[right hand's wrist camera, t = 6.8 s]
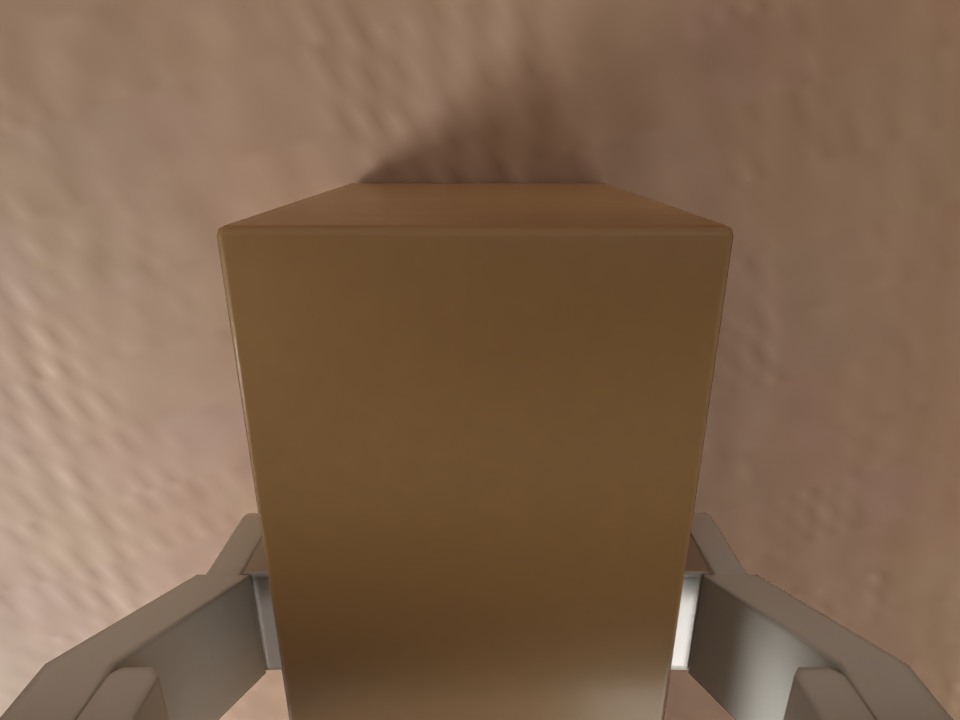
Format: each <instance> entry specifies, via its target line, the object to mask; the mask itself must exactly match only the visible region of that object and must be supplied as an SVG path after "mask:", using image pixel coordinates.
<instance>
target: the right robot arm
mask: <svg viewBox="0 0 960 720" xmlns="http://www.w3.org/2000/svg"><path fill="white" fill-rule="evenodd" d="M277 669H282V666H281V660H280V653H279V646H278V640H277V633H276V626H275V620H274V613H273V606H272V600H271V593H270V586H269V580H268V573H267V566H266V560H265V553H264V546H263V540H262V533H261V526H260V520H259V513H250V514H247V515H245V516H244V517H243V518H242V519H241V521H240V522H239V524H238V526H237V527H236V529H235V530H234V532H233V533H232V535H231V537H230V538H229V540H228V541H227V543H226V544H225V546H224V548H223V549H222V551H221V552H220V554H219V555H218V557H217V559H216V560H215V562H214V563H213V565H212V566H211V568H210V570H209V571H208V573H207V574H206V575H196V576H194V577H193V578H191V579H189V580H188V581H186V582H184V583H182V584H181V585H179V586H177V587H176V588H174V589H172V590H171V591H169V592H167V593H165V594H164V595H162V596H160V597H159V598H157V599H155V600H154V601H152V602H150V603H148V604H147V605H145V606H143V607H142V608H140V609H138V610H136V611H135V612H133V613H131V614H130V615H128V616H126V617H125V618H123V619H121V620H119V621H118V622H116V623H114V624H113V625H111V626H109V627H108V628H106V629H104V630H102V631H101V632H99V633H97V634H96V635H94V636H92V637H91V638H89V639H87V640H85V641H84V642H82V643H80V644H79V645H77V646H75V647H74V648H72V649H70V650H68V651H67V652H65V653H63V654H62V655H60V656H58V657H57V658H55V659H53V660H51V661H50V662H48V663H46V664H45V665H44V666H43V667H42V668H41V670H40V671H39V672H38V673H37V674H36V676H35V677H34V678H33V679H32V680H31V682H30V683H29V684H28V685H27V686H26V688H25V689H24V690H23V691H22V692H21V694H20V695H19V696H18V697H17V698H16V700H15V701H14V702H13V703H12V704H11V705H10V707H9V708H8V709H7V710H6V711H5V713H4V714H3V715H2V716H1V717H0V720H219V719H220V718H221V717H222V716H223V715H224V714H225V713H226V712H227V711H228V710H229V709H230V708H231V707H232V706H233V705H234V704H235V703H236V702H237V701H238V700H239V699H240V698H241V697H242V696H243V695H244V694H245V693H246V692H247V691H248V690H249V689H250V688H251V687H252V686H253V685H254V684H255V683H256V682H257V681H258V680H259V679H260V678H261V677H262V676H263V675H264V674H265V673H266V671H265V670H277ZM671 669H676V670H689V672H688V673H689V674H690V675H691V676H692V677H693V678H694V679H695V680H696V681H697V682H698V683H699V684H700V685H701V686H702V687H703V688H704V689H705V690H706V691H707V692H708V693H709V694H710V695H711V696H712V697H713V698H714V699H715V700H716V701H717V702H718V703H719V704H720V705H721V706H722V707H723V708H724V709H725V710H726V711H727V712H728V713H729V714H730V715H731V716H732V717H733V718H734V719H735V720H953V719H952V718H951V717H950V715H949V714H948V713H947V712H946V710H945V709H944V708H943V707H942V706H941V704H940V703H939V702H938V701H937V699H936V698H935V697H934V696H933V695H932V693H931V692H930V691H929V690H928V688H927V687H926V686H925V685H924V683H923V682H922V681H921V680H920V679H919V677H918V676H917V675H916V674H915V672H914V671H913V670H912V669H911V668H910V666H909V665H907V664H906V663H904V662H902V661H901V660H899V659H897V658H896V657H894V656H892V655H890V654H889V653H887V652H885V651H884V650H882V649H880V648H879V647H877V646H875V645H874V644H872V643H870V642H869V641H867V640H865V639H864V638H862V637H860V636H859V635H857V634H855V633H854V632H852V631H850V630H849V629H847V628H845V627H843V626H842V625H840V624H838V623H837V622H835V621H833V620H832V619H830V618H828V617H827V616H825V615H823V614H822V613H820V612H818V611H817V610H815V609H813V608H812V607H810V606H808V605H807V604H805V603H803V602H801V601H800V600H798V599H796V598H795V597H793V596H791V595H790V594H788V593H786V592H785V591H783V590H781V589H780V588H778V587H776V586H775V585H773V584H771V583H770V582H768V581H766V580H765V579H763V578H761V577H759V576H758V575H748V574H747V573H746V571H745V570H744V568H743V567H742V565H741V563H740V562H739V560H738V559H737V557H736V555H735V554H734V552H733V551H732V549H731V547H730V546H729V544H728V543H727V541H726V540H725V538H724V536H723V535H722V533H721V532H720V530H719V528H718V527H717V525H716V524H715V522H714V521H713V519H712V517H711V516H710V515H708V514H707V513H693V519H692V526H691V533H690V540H689V547H688V554H687V561H686V568H685V575H684V582H683V589H682V596H681V602H680V609H679V616H678V623H677V630H676V637H675V644H674V651H673V658H672V665H671Z"/></svg>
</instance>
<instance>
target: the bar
mask: <svg viewBox="0 0 960 720" xmlns="http://www.w3.org/2000/svg"><path fill="white" fill-rule="evenodd" d="M217 239H218V246H219V253H220V259H221V266H222V273H223V279H224V286H225V293H226V299H227V306H228V313H229V320H230V326H231V333H232V340H233V346H234V353H235V360H236V366H237V373H238V380H239V386H240V393H241V400H242V406H243V413H244V420H245V426H246V433H247V440H248V446H249V453H250V460H251V466H252V473H253V480H254V486H255V493H256V500H257V506H258V513H259V520H260V526H261V533H262V540H263V546H264V553H265V560H266V566H267V573H268V580H269V586H270V593H271V600H272V606H273V613H274V620H275V626H276V633H277V640H278V646H279V653H280V660H281V666H282V673H283V680H284V686H285V693H286V700H287V706H288V713H289V720H664V714H665V707H666V700H667V693H668V686H669V679H670V672H671V665H672V658H673V651H674V644H675V637H676V630H677V623H678V616H679V609H680V602H681V596H682V589H683V582H684V575H685V568H686V561H687V554H688V547H689V540H690V533H691V526H692V519H693V512H694V505H695V498H696V491H697V484H698V477H699V470H700V463H701V456H702V449H703V442H704V436H705V429H706V422H707V415H708V408H709V401H710V394H711V387H712V380H713V373H714V366H715V359H716V352H717V345H718V338H719V331H720V324H721V317H722V310H723V303H724V296H725V289H726V283H727V276H728V269H729V262H730V255H731V248H732V241H733V233H732V229H731V228H730V227H728V226H725V225H723V224H720V223H717V222H714V221H711V220H708V219H705V218H702V217H700V216H697V215H694V214H691V213H688V212H685V211H682V210H679V209H676V208H673V207H671V206H668V205H665V204H662V203H659V202H656V201H653V200H650V199H647V198H645V197H642V196H639V195H636V194H633V193H630V192H627V191H624V190H621V189H618V188H616V187H613V186H610V185H607V184H604V183H352V184H349V185H346V186H342V187H339V188H336V189H333V190H330V191H327V192H324V193H321V194H318V195H315V196H312V197H309V198H306V199H303V200H300V201H297V202H294V203H291V204H288V205H285V206H282V207H279V208H276V209H273V210H270V211H267V212H264V213H261V214H258V215H255V216H252V217H249V218H246V219H243V220H240V221H237V222H234V223H231V224H228V225H225V226H223V227H221V228H219V230H218V234H217Z"/></svg>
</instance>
